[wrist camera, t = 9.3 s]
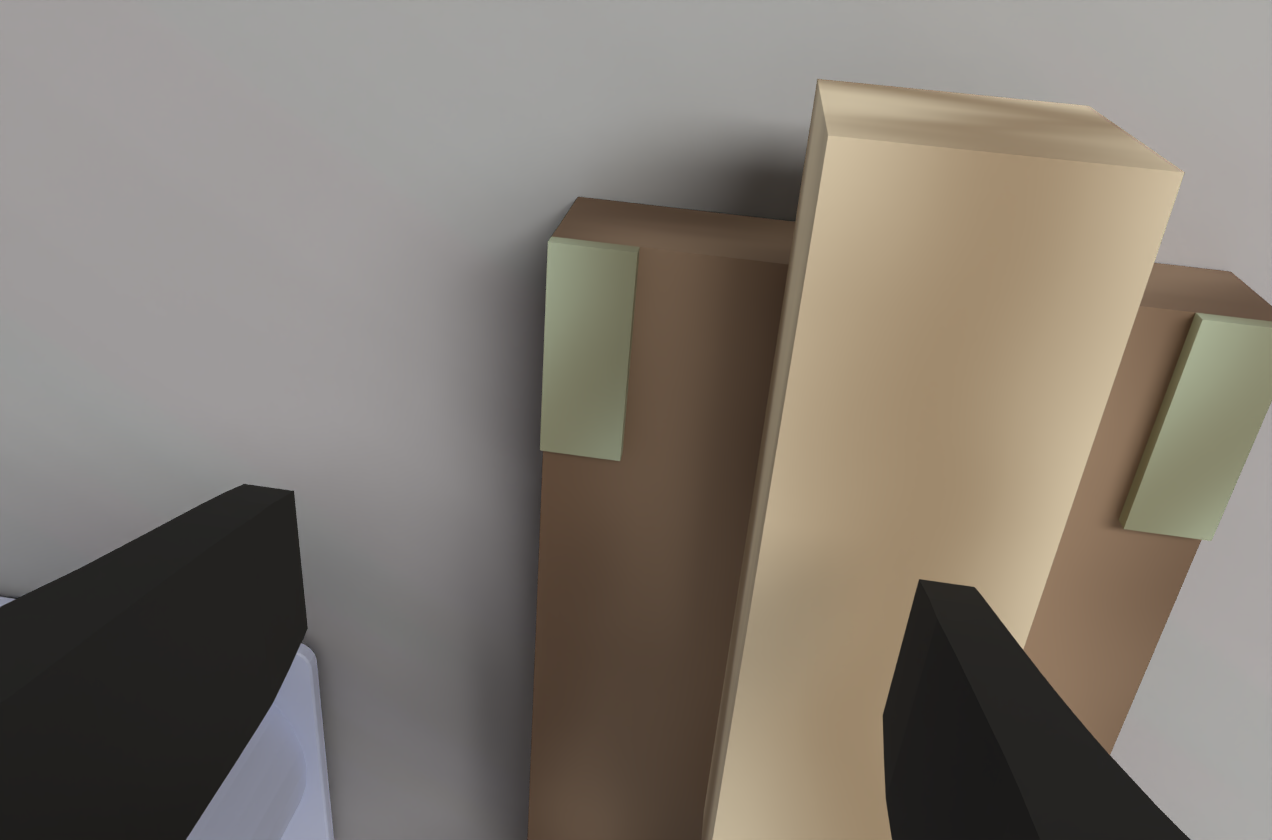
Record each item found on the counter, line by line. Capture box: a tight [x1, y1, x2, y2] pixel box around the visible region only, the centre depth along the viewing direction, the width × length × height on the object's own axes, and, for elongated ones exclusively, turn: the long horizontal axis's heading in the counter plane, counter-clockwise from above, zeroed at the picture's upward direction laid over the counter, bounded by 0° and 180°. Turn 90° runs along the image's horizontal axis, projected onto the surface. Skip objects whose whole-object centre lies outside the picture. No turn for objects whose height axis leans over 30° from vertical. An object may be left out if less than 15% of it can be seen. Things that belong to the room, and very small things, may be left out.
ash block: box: [701, 79, 1185, 840], centre depth 17 cm, size 4×16×4 cm, turn 176°
